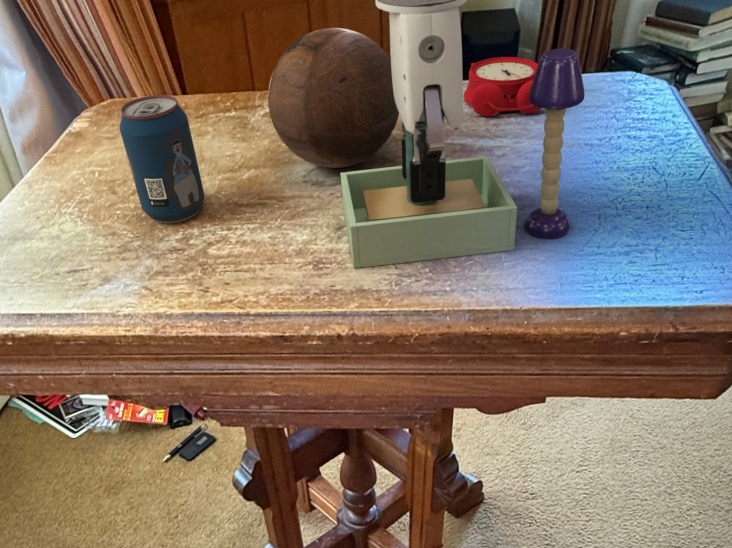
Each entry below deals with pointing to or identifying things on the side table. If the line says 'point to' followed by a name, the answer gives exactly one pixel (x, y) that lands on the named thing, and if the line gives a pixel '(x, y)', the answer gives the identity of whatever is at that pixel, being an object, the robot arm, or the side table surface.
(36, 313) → the side table surface
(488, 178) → the tub
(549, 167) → the toy lamp
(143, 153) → the soda can
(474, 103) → the alarm clock
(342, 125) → the wooden sphere
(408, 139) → the brush
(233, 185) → the side table surface
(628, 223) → the side table surface
